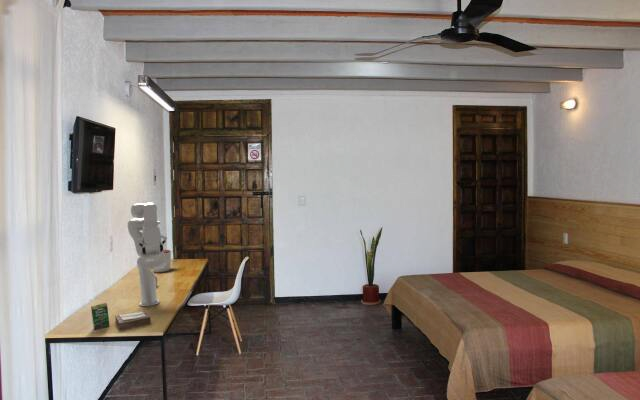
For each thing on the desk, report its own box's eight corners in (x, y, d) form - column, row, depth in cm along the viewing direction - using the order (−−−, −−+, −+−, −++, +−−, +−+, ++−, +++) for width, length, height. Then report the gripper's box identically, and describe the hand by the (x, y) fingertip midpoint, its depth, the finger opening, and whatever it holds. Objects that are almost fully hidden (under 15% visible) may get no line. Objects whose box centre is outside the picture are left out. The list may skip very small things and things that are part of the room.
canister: (155, 269, 409) (154, 245, 407) (175, 268, 408) (174, 245, 407) (147, 274, 391) (145, 249, 389) (168, 273, 390) (166, 248, 389)
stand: (115, 322, 263) (115, 314, 263) (145, 316, 272) (144, 309, 271) (120, 330, 250) (119, 322, 249) (150, 324, 258) (150, 316, 258)
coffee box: (93, 330, 252) (91, 306, 251) (92, 328, 255) (90, 305, 254) (109, 326, 257) (107, 303, 256) (108, 325, 259) (106, 302, 258)
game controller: (150, 292, 329) (149, 280, 329) (146, 292, 329) (145, 281, 329) (157, 285, 349) (157, 274, 348) (154, 285, 349) (154, 274, 348)
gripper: (164, 222, 283) (166, 250, 284) (134, 225, 274) (136, 253, 275) (167, 223, 277) (169, 251, 278) (136, 226, 268) (139, 255, 269)
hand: (153, 252), depth 277 cm, fingers open, 9 cm apart
